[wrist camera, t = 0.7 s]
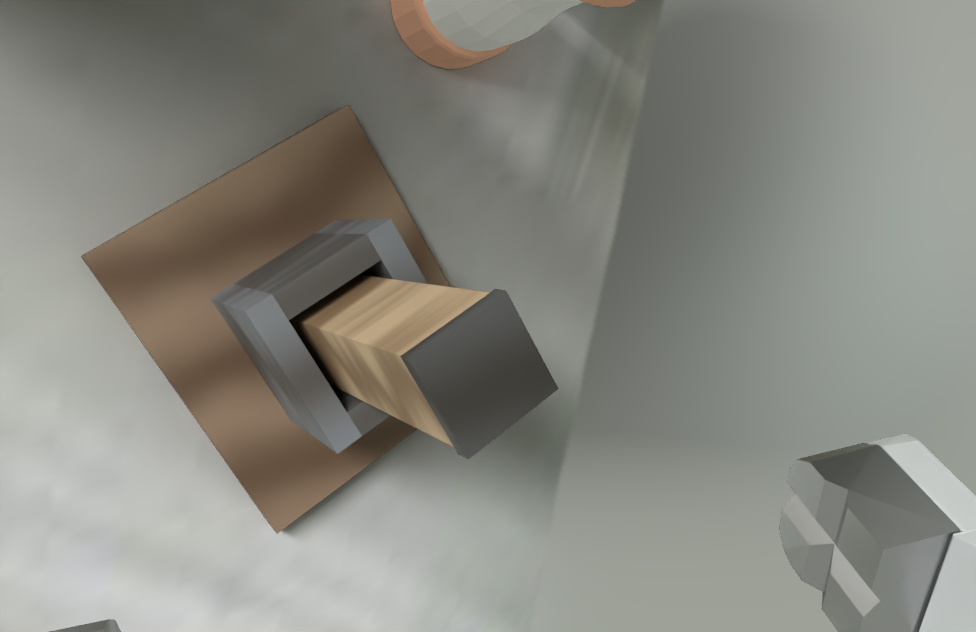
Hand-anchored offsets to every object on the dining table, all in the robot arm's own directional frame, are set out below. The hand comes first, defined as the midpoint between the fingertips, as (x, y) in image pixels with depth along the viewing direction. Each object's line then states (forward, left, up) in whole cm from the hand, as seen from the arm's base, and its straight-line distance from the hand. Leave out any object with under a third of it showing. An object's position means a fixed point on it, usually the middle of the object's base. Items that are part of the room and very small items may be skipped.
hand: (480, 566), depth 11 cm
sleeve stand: (+6, +7, -40) cm, 41 cm away
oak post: (+6, +7, -39) cm, 40 cm away
